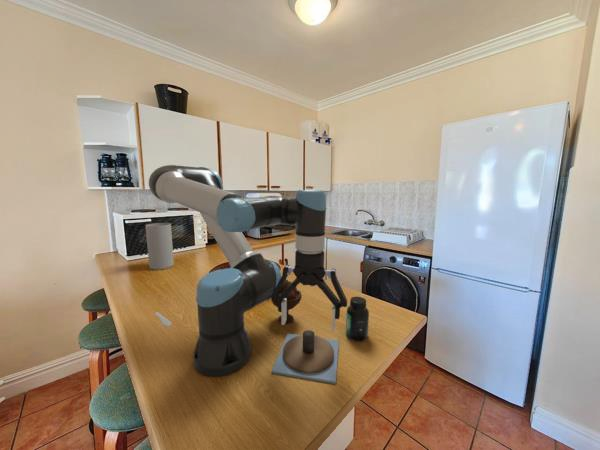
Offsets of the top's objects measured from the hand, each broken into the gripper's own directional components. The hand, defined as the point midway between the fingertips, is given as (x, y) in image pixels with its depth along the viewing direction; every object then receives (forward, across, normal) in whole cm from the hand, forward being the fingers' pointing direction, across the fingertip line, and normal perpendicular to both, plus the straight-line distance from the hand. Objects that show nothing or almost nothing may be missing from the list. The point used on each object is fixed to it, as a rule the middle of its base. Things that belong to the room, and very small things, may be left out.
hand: (308, 325), depth 65 cm
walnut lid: (+8, 0, 0) cm, 9 cm away
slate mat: (+9, 0, 0) cm, 9 cm away
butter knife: (+10, +60, -11) cm, 61 cm away
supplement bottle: (+9, -14, -13) cm, 21 cm away
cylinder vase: (+10, +97, -56) cm, 112 cm away
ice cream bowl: (+9, +11, -17) cm, 22 cm away
